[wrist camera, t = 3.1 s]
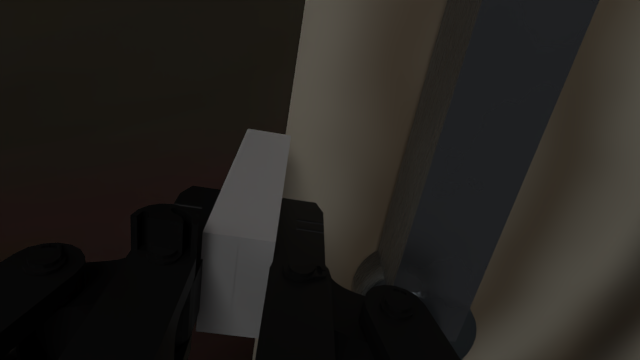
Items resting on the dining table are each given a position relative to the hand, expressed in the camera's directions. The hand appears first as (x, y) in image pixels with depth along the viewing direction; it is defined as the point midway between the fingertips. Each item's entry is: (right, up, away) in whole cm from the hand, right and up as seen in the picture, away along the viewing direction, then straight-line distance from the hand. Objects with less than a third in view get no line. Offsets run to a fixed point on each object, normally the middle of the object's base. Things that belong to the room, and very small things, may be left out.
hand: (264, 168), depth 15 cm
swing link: (+6, 0, +1) cm, 7 cm away
